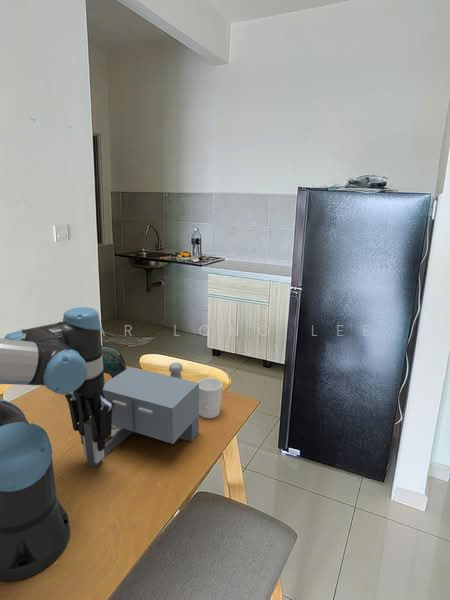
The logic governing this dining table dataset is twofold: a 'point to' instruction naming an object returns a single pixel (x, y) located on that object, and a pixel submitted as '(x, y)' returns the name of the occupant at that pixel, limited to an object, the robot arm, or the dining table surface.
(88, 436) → the l-shaped tool
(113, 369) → the ceramic cat
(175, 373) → the salt shaker
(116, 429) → the steel token
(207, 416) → the white cup
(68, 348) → the robot arm
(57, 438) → the dining table surface
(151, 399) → the cabinet
